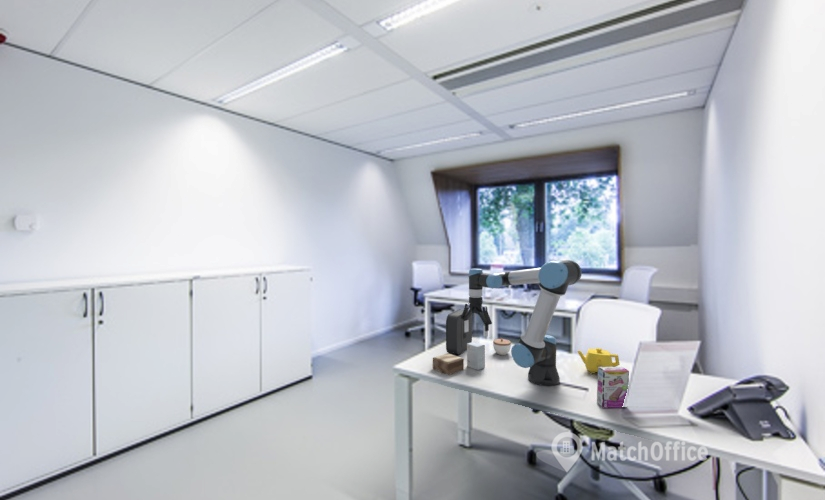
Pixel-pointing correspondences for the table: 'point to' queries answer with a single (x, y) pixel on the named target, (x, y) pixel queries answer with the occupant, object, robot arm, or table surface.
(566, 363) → the table surface
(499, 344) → the lidded jar
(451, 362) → the brown square box
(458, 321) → the speaker
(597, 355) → the teapot
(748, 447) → the table surface
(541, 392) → the table surface
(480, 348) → the small box
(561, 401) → the table surface
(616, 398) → the candy bar box
